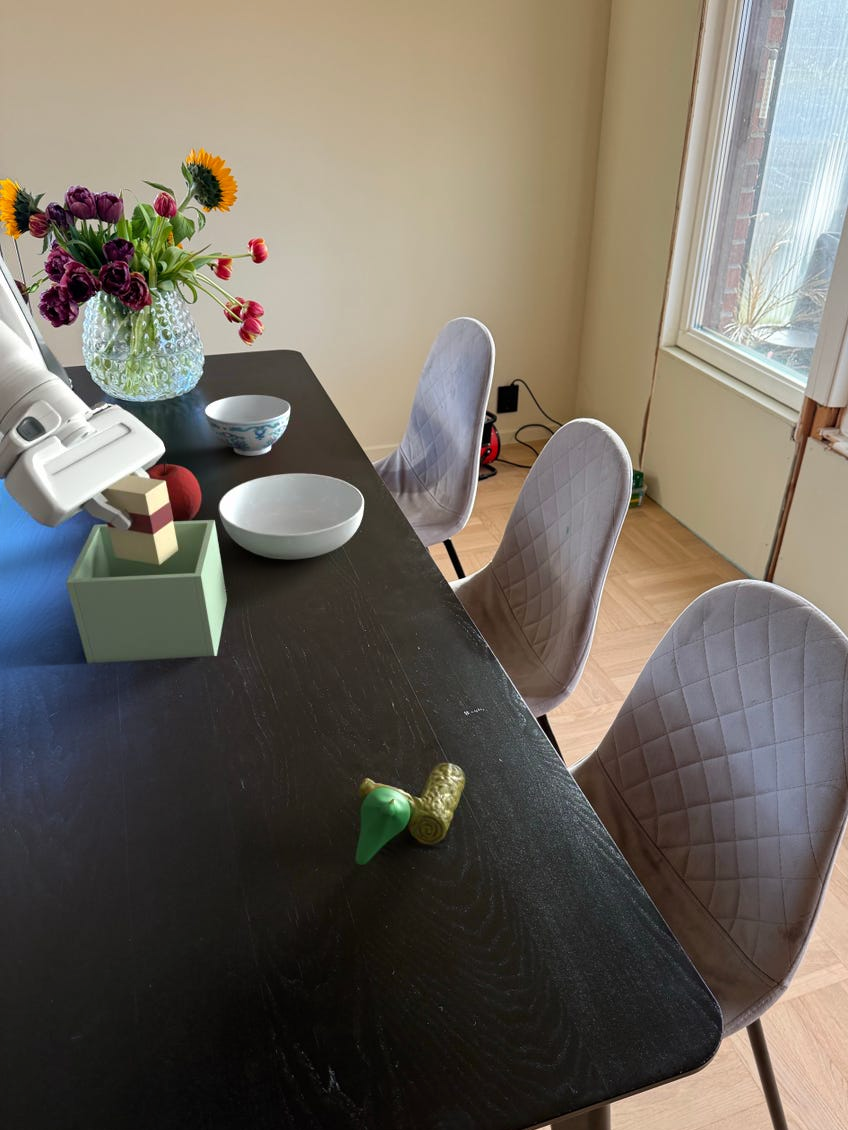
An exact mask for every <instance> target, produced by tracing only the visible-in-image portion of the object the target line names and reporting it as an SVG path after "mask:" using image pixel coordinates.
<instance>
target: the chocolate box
mask: <svg viewBox="0 0 848 1130" xmlns="http://www.w3.org/2000/svg"><path fill="white" fill-rule="evenodd" d="M101 494H102V495H103V496H104V497H105V498H106V499H107V502H106V504H108V505H110V506H112V507H114V508H116V509H118V510H119V511H123V510H125V509H126V510H127V511H128V512H129V513H130V515H131V516H133V517H134V518H135V523H134V524H133V525H132V526H131V527H130V528H129V529H128V530H126V531H125V532H120V531H119V530H118V529H117V528H116V527H115V526H114V525H113V524H112V523H111V522H110V523H109V522H106V524H107V526H108V527H109V531H110V536H111V540H112V544H113V549H114V553H115V557H117V558H123V559H129V560H134V561H140V562H145V563H151V564H156V565H160V564H161V563H163V562H164V561H165V560H167V559H168V558H169V557H170V556H172V555H173V554H174V553H175V552H177V551H178V545H177V540H176V535H175V529H174V524H173V515H172V510H171V504H170V501H169V497H168V492H167V486H166V481H163V480H157V479H150V478H144V477H137V476H131V475H128V476H126V477H125V478H123V479H121V480H120V481H118V482H117V483H115V484H113V485H112V486H110V487H109V488H107V489H105V490H104V491H102V492H101Z"/></svg>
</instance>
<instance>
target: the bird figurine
mask: <svg viewBox="0 0 848 1130" xmlns="http://www.w3.org/2000/svg"><path fill="white" fill-rule="evenodd" d="M466 781H467V780H466V775H465V772H464V770H462V768H460V766H458V765H456V764H453V763H450V762H442V763H441V762H440V763H439V764H438V765H435V766H434V767H433V768H432V770H431V772H430V773H429V775H428V777H427V780H426V782H425V785H424V787H423V790H422V791H421V793H420V797H416V796H413V795H410V793H408V792H405V790H403V789H400V788H398V787H395V786H391V785H387V784H383V783H376V782H375V781H374V780H372V779H370V778H368V777H367V778H363V780H362V781H361V782H360V785H359V788H358V796H359V798H360V799H363V801H362V803H361V806H360V830H359V836H358V842H357V848H356V851H355V852H356V853H355V858H354V859H355V860H354V861H355V863H356V864H357V865H359V866H364V865H366V864H367V863H368V862H370V860H371V859H372V858H373V857H374V856H375V855H376V854H377V853H378V852H379V850H381V849H382V848H383V846H385V845H386V844H387V843H388V842H389V841H390V840H392V839H393V838H394V837H395V836H397V835H398V834H400V833H402V831H403V830H404V829H405V828H406V827H408V830H409V832H410V834H411V836H412V837H413V838H414V839H416V840H417V842H419V843H421V844H423V845H430V846H431V845H435V844H437V843H439V842H441V841H442V840H443V839H444V838H445V837H446V835H447V831H448V830H449V827H450V824H451V822H452V819H453V818H454V812H455V811H456V810H457V808H458V805H459V802H460V800H461V797H462V793H463V791H464V789H465V786H466V784H467V783H466Z"/></svg>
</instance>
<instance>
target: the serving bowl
mask: <svg viewBox="0 0 848 1130" xmlns="http://www.w3.org/2000/svg"><path fill="white" fill-rule="evenodd" d="M364 509H365V499H364V496H363V494H362V492H361V491H360V490H359V489H358V488H357V487H355V486H354V485H352V484H350V483H349V482H347V481H345V480H342V479H339V478H335V477H333V476H328V475H323V474H314V473H283V474H273V475H269V476H268V475H267V476H263V477H259V478H255V479H252V480H248V481H246V482H243V483H241V484H239V485H237V486H235V487H233V488H231V489H230V490H228V491H227V492H226V493H225V494H224V495H223V496H222V497H221V499H220V500H219V502H218V514H219V517H220V520H221V523H222V525H223V528H224V530H225V531H226V533H227V534H228V535H229V537H230V538H231V539H232V540H233V541H234V542H235V543H236V544H237V545H239V546H240V547H242V548H243V549H245V550H246V551H248V552H251V553H253V554H255V555H257V556H262V557H264V558H269V559H275V560H302V559H309V558H315V557H318V556H323V555H325V554H327V553H330V552H333V551H335V550H337V549H338V548H340V547H342V546H343V545H344V544H346V543H347V542H348V541H349V540H350V539H351V538H353V536H354V535H355V533H356V532H357V531H358V529H359V527H360V525H361V522H362V519H363V516H364V511H365V510H364Z"/></svg>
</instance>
